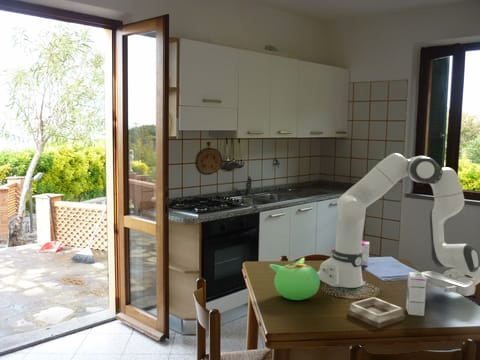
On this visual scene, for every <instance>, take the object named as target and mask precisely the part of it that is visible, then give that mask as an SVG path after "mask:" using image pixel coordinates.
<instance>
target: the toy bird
mask: <svg viewBox="0 0 480 360" xmlns="http://www.w3.org/2000/svg"><path fill="white" fill-rule="evenodd" d="M305 260H306V259H305V257H301V258H300V259H298V261H296V262H295V263H294V262H293V263H289V264H285V265H284V266H282V265H278V264H273V263H271V264H269V265H268V266H269V268H270V269H272V271H274V272H275V273H276V274H275V276H274V279H273V280H274V282H273V283H274V284H273V285H274V287H275V290H276V291H277V293H278V294H279V295H280V296H282V297H283V298H285V299H287V300H293V301H302V300H306V299H307V300H308V299H309V298H312V297H313V296H314V295H316V293H317V292H318V290H319V288H320V284H321V280H320V279H319V275H318V273H317V272H318V271H317V270H316V269H314V268H313V267H312V266H310V265H308V264H305Z"/></svg>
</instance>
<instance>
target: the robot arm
mask: <svg viewBox="0 0 480 360" xmlns="http://www.w3.org/2000/svg"><path fill="white" fill-rule="evenodd" d="M406 177H407V178H409V179H411V180H412V181H413V182H416V183H421V184H429V185H430V186H431V189H432V194H433V198H434V205H433V207H432V209H431V210H430V212H429V213H430V214H429V227H430V229H429V230H430V243H431V244H430V245H431V246H430V260H431V261H432V263H433V264H434V265H435V266H436V267H438V268H439V269H444V268H451V269H447V270H445V271H444V272H443V273H440V272H437V271H433V270H426V271H422V272H420V273H423V274H424V275H425V277H426V286H427V285H430V286H433V287H437V288H440V289H443V292H446V293H454V294H458V295H461V296H465V297H469V296H473V295H475V293H476V285H478V284H479V283H480V255H479V253H478V251H477V250H476V247H474V246H473V245H472V244H471V243H446V242H445V231H444V224H445V222H446V221H447V220H448V219H449V218H452V217H454V216H455V215H457V214H458V213H459V212H461V211H462V210H463V208H464V206H465V196H464V192H463V188H462V187H463V186H462V185H461V181H460V178H459V177H458V174H457V172H456V171H455V170H454V169H453V168H452V167H447V166H446V167H441V166H440V165H439V164H438V163H437V162H436V161H435V160H434V159H433V158H431V157H429V156H426V155H417V156H413V157H409V158H407V157H405V156H404V155H403V154H400V153H397V152H394V153H391V154H388V156H386V157H385V158H384V159H382V160H381V161H379V162H378V163H377V164H376V165H375V166H374V167H372V169H371V170H370V171H369V172H367V174H365V176H363V177H362V178H361V179H360V180H359V181H357V182H356V183H355V184H354V185H352V186H351V187H350V188H348V190H346V191H345V192H344V193H343V194H342V195H341V196H339V198H338V200H337V203H336V208H337V211H338V214H337V224H336V225H337V227H336V233H335V234H336V235H335V248H334V249H332V250H330V254H332V256H331V257H330V258H327V259H326V260H325V261H323V262H321V264H320V266H319V269H318V271H316V272H317V273H318V275H319V279H320V282H321V281H322V282H323V283H325V284H328V286H331V287H336V288H337V287H338V288H339V287H340V288H346V289H347V288H348V289H349V288H350V289H353V288H360V287H362V286H364V281H363V273H362V266H361V262H362V252H361V250H362V241H363V235H364V234H363V233H364V228H365V220H366V210H367V207H369V206H370V205H372V204H373V203H375V202H376V201H377V200H379V199H381V198H382V197H383V196H384V195H385V194H386V193H387V192H389V190H390V189H392V188H393V187H394V186H395V185H396V184H397V183H398V182H399V181H400V180H401V179H403V178H406Z"/></svg>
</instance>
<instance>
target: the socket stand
mask: <svg viewBox="0 0 480 360" xmlns="http://www.w3.org/2000/svg"><path fill="white" fill-rule="evenodd" d="M403 312H404V308H403V307H400V306H398V305H395V304H393V303H390V302H388V301H385V300H382V299H380V298H377V297H375V296H372V297H369V298H365V299H362V300H359V301H354V302H352V303H349V309H347V315H349V316H351V317H353V318H355V319H357V320H360V321H361V322H364V323H366V324H369V325H371V326H373V327H375V328H378V329H381V328H384V327H387V326H390V325H393V324H397V323H398V322H401V321H403V320H405V317H406V316H405V315H404V313H403Z"/></svg>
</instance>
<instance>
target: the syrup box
mask: <svg viewBox="0 0 480 360" xmlns="http://www.w3.org/2000/svg"><path fill="white" fill-rule="evenodd" d="M406 285H407V287H406V301H405V302H406V304H405V309H406V311H407V314H408V315H411V316H419V317H420V316H421V317H424V316H425V308H426V307H425V305H426V290H427V289H426V288H427V287H426V286H427V285H426V277H425V275H424V274H423V273H421V272H415V271H413V272H411V271H410V272H407V284H406Z"/></svg>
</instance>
